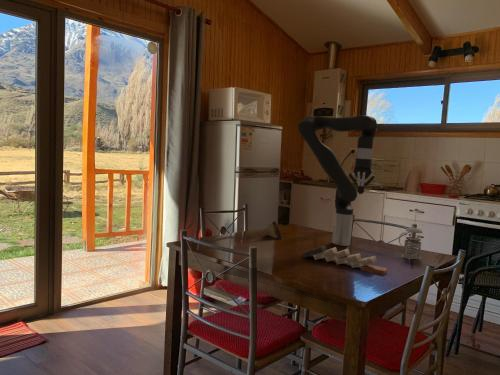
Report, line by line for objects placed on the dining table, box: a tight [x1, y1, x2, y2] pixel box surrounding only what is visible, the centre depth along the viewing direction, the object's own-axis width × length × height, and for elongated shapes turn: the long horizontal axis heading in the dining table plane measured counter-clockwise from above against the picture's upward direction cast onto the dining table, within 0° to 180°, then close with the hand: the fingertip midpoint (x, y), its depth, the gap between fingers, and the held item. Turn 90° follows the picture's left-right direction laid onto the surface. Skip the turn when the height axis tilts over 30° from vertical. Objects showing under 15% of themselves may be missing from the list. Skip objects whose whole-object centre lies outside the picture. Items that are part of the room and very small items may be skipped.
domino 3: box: [324, 248, 351, 263], centre depth 182 cm, size 2×5×10 cm
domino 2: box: [312, 246, 339, 261], centre depth 185 cm, size 2×5×10 cm
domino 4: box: [334, 253, 362, 265], centre depth 180 cm, size 2×5×10 cm
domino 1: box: [302, 244, 328, 259], centre depth 187 cm, size 2×5×10 cm
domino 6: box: [360, 264, 388, 276], centre depth 173 cm, size 2×5×10 cm
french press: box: [398, 208, 423, 260], centre depth 201 cm, size 10×12×25 cm
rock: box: [266, 220, 284, 240], centre depth 228 cm, size 11×9×10 cm
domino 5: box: [349, 255, 378, 269], centre depth 175 cm, size 2×5×10 cm
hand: (360, 193), depth 193 cm, fingers closed
